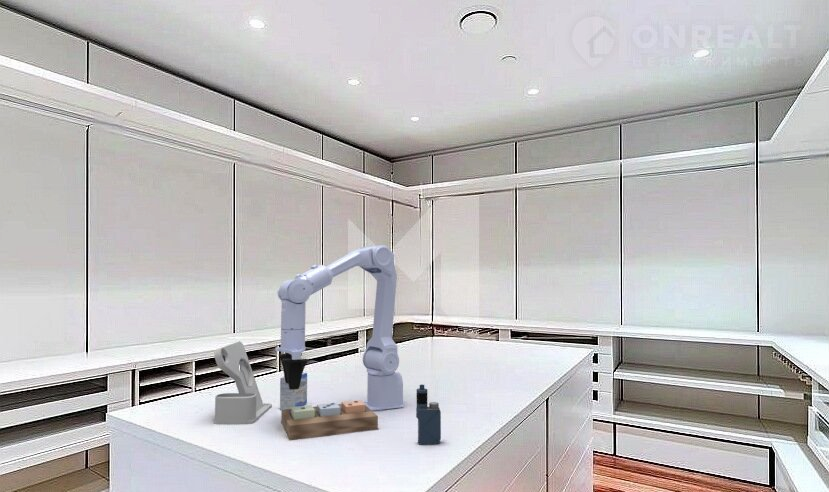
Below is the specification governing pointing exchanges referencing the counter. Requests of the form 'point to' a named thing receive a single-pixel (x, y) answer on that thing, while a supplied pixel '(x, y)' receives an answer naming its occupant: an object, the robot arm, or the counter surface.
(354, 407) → the tile
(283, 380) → the medicine box
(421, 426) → the vaping device
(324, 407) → the tile
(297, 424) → the block tray
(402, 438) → the counter surface
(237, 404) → the phone holder
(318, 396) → the counter surface
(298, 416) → the tile
